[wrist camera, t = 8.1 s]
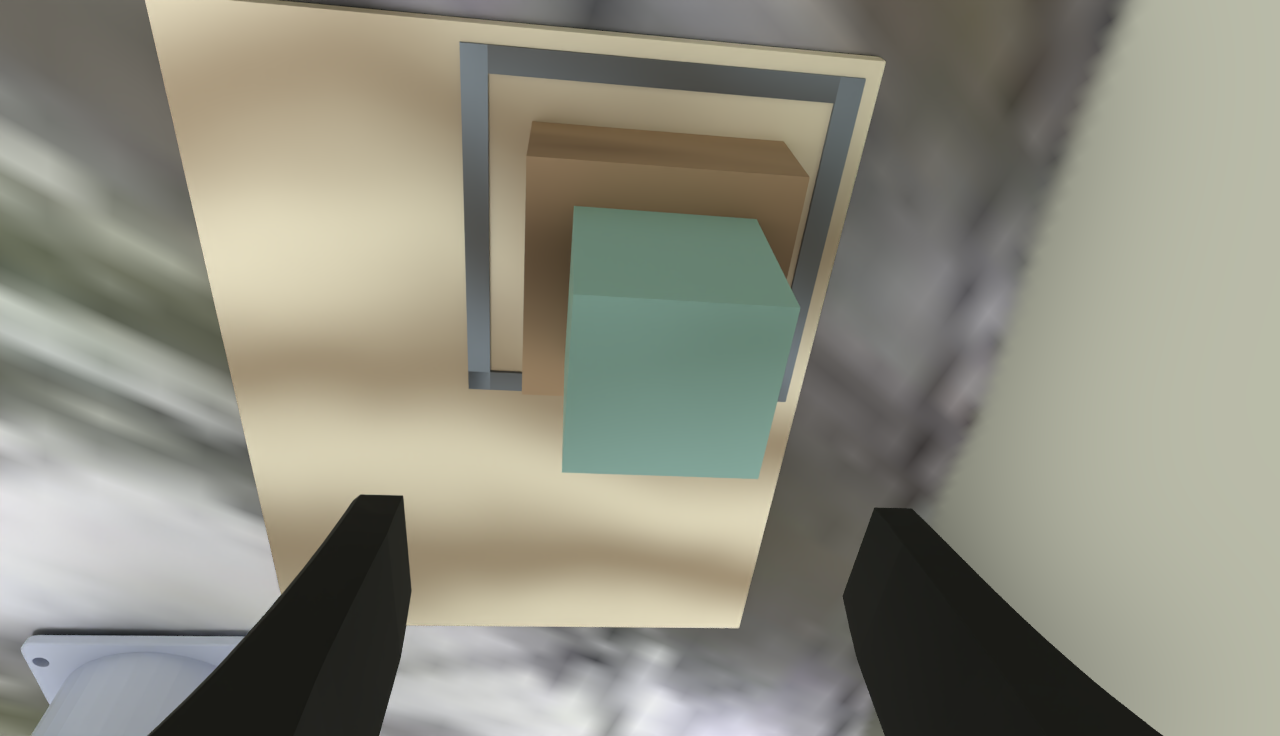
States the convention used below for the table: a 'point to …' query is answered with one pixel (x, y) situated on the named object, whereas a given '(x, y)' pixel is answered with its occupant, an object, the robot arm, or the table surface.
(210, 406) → the table surface
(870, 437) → the table surface
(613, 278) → the teal block
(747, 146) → the walnut slab
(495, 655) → the table surface
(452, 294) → the build board
